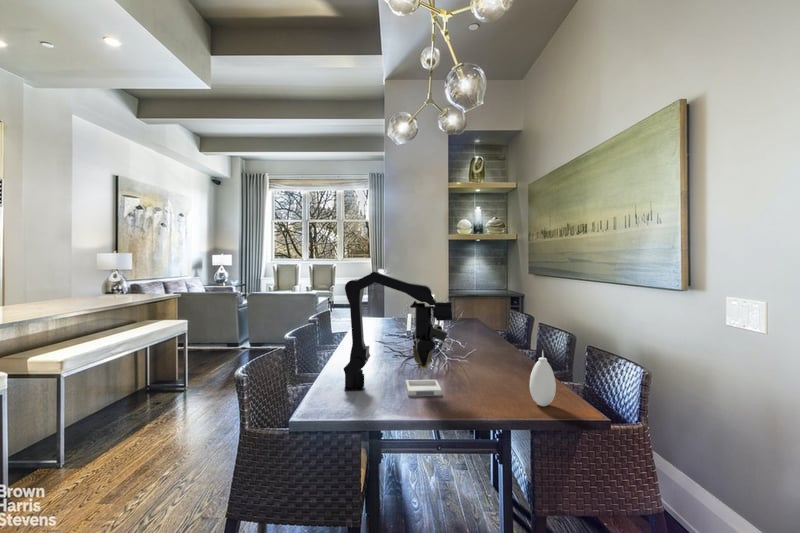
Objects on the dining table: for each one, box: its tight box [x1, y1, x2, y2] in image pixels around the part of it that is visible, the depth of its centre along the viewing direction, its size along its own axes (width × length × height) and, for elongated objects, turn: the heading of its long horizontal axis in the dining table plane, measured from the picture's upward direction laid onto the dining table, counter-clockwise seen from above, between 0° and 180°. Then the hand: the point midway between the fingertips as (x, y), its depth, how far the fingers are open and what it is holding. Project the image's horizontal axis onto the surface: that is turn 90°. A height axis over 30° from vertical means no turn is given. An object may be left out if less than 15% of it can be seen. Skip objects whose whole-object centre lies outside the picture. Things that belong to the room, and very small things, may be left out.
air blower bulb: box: [529, 350, 557, 407], centre depth 124 cm, size 8×8×18 cm
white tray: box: [405, 379, 443, 397], centre depth 137 cm, size 12×12×2 cm
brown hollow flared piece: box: [412, 344, 434, 370], centre depth 137 cm, size 8×7×8 cm
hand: (422, 363), depth 137 cm, fingers closed on brown hollow flared piece, 6 cm apart
